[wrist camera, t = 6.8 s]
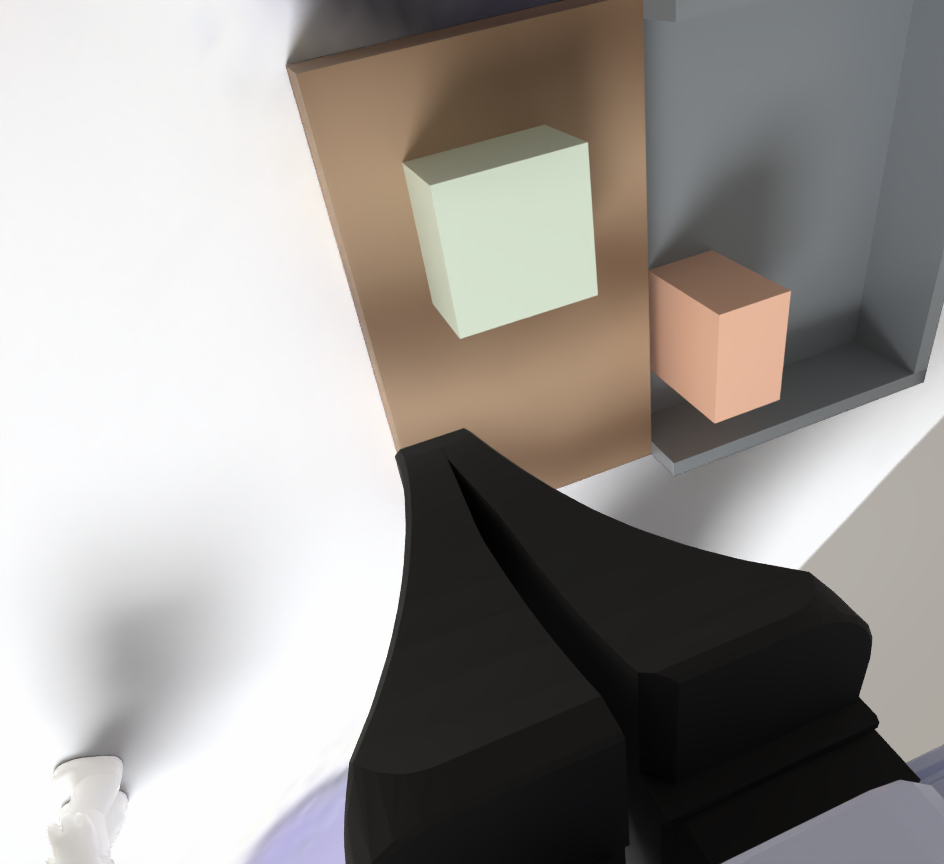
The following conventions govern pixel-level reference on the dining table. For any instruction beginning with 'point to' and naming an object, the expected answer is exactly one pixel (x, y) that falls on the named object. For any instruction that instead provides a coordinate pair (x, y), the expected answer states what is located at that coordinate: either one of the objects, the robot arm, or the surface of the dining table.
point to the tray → (801, 192)
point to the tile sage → (505, 227)
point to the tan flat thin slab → (399, 253)
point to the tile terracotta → (717, 333)
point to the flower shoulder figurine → (88, 810)
